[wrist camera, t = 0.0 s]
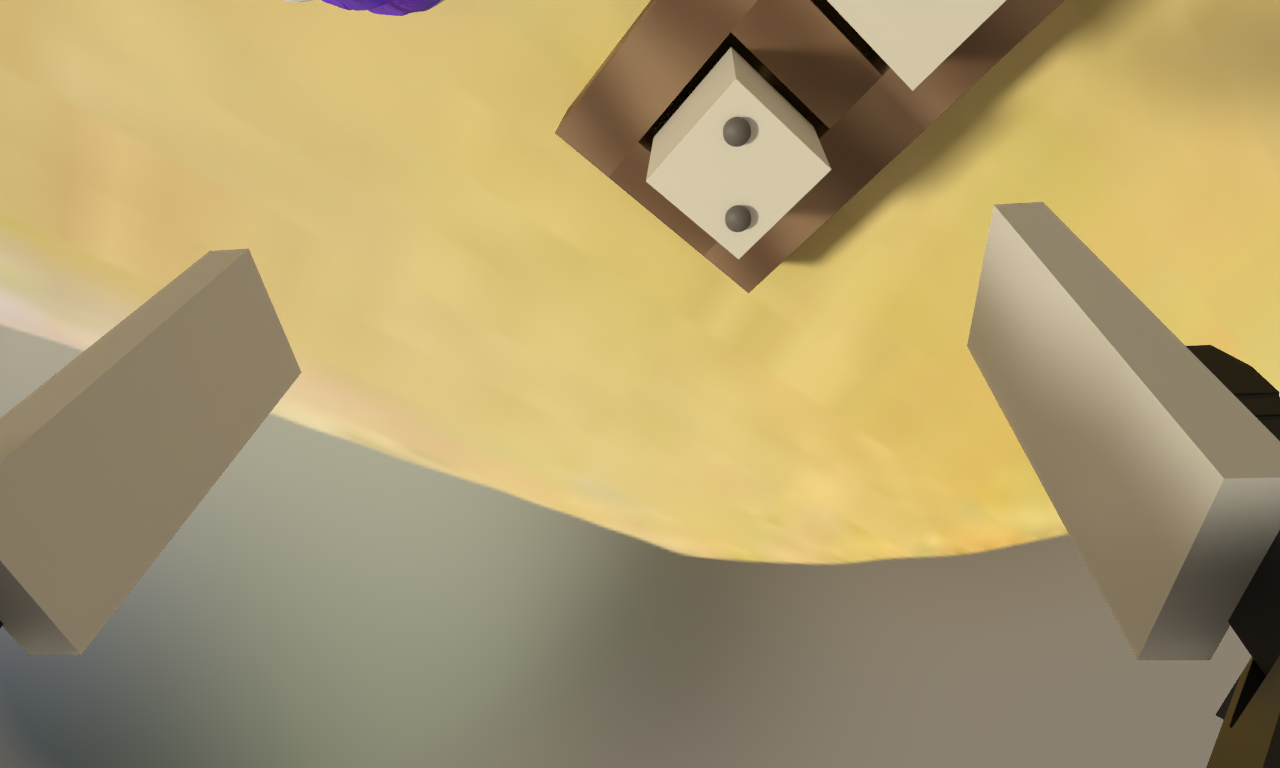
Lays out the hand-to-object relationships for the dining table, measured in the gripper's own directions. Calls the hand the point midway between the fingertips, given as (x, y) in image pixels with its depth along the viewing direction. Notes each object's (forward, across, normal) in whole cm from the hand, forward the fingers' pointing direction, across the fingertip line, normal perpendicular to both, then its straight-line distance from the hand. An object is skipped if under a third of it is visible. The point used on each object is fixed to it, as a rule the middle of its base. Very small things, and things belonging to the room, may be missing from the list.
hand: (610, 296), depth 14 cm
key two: (+24, +3, -5) cm, 25 cm away
